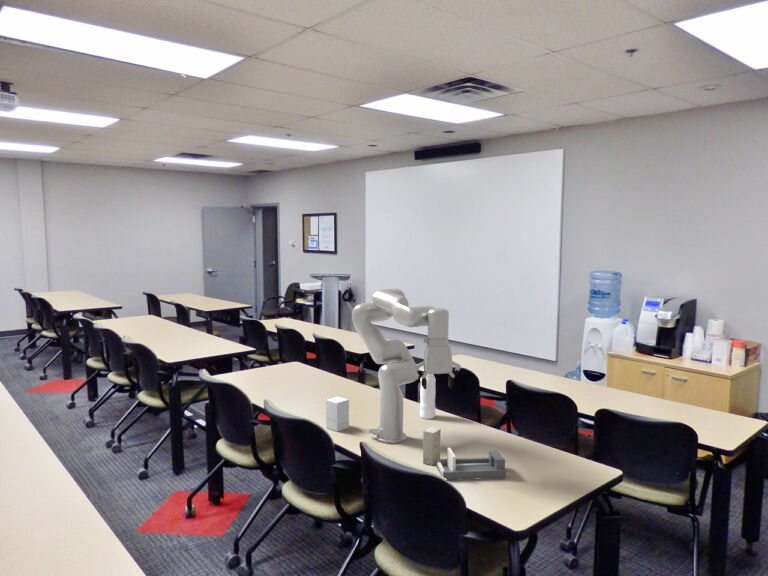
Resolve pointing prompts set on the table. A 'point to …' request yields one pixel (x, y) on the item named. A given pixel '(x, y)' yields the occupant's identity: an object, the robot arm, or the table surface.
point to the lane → (475, 467)
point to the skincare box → (431, 445)
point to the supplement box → (337, 413)
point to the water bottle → (428, 398)
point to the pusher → (452, 464)
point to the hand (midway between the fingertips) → (437, 387)
